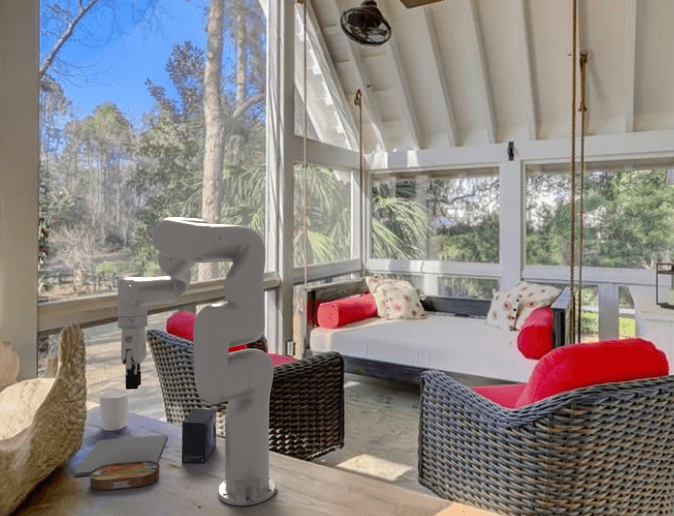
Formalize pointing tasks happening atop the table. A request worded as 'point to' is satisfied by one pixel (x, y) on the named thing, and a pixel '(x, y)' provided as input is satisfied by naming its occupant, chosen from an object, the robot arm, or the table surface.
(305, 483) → the table surface
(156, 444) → the mat
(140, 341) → the robot arm
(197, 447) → the small box
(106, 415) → the white cup
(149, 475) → the tin
